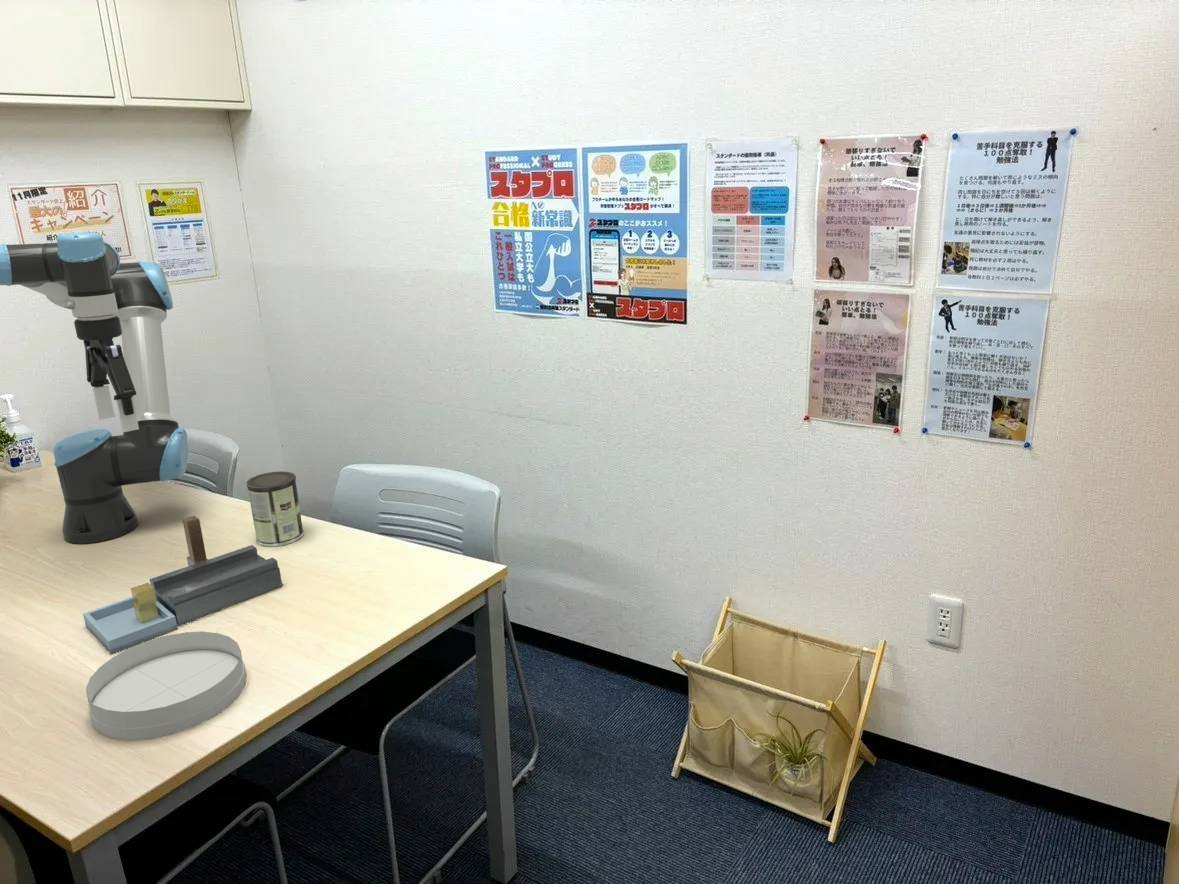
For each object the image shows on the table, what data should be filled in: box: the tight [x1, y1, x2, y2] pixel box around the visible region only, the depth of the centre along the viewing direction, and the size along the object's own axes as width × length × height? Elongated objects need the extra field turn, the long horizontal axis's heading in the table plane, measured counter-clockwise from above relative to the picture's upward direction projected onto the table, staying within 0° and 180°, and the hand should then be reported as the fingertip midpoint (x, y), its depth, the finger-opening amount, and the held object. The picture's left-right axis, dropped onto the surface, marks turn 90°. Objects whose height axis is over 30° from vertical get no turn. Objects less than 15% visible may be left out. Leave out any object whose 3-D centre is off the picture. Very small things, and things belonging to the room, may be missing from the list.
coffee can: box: [245, 471, 305, 547], centre depth 183 cm, size 10×10×14 cm
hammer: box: [182, 515, 209, 567], centre depth 167 cm, size 6×2×12 cm, turn 47°
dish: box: [85, 631, 247, 741], centre depth 128 cm, size 22×22×5 cm
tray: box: [82, 596, 178, 655], centre depth 148 cm, size 14×11×2 cm
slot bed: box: [149, 545, 283, 627], centre depth 159 cm, size 12×20×6 cm, turn 136°
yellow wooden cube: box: [133, 603, 159, 624], centre depth 150 cm, size 3×3×3 cm
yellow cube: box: [130, 582, 157, 608], centre depth 149 cm, size 3×3×3 cm
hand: (118, 424), depth 162 cm, fingers open, 13 cm apart
